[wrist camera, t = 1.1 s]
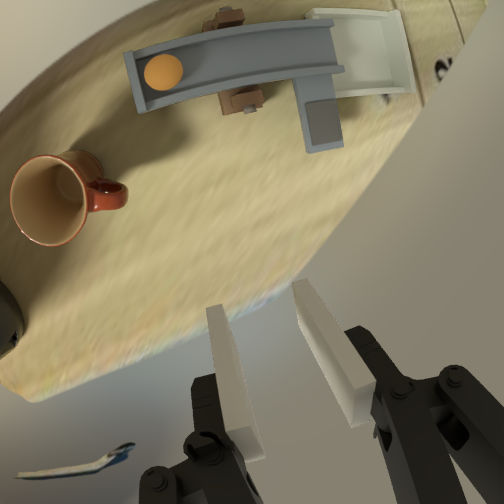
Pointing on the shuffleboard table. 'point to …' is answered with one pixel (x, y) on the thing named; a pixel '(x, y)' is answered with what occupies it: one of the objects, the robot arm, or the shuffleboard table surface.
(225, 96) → the fulcrum
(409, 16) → the shuffleboard table surface
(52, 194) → the mug
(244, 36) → the lever
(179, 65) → the ball
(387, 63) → the tray
